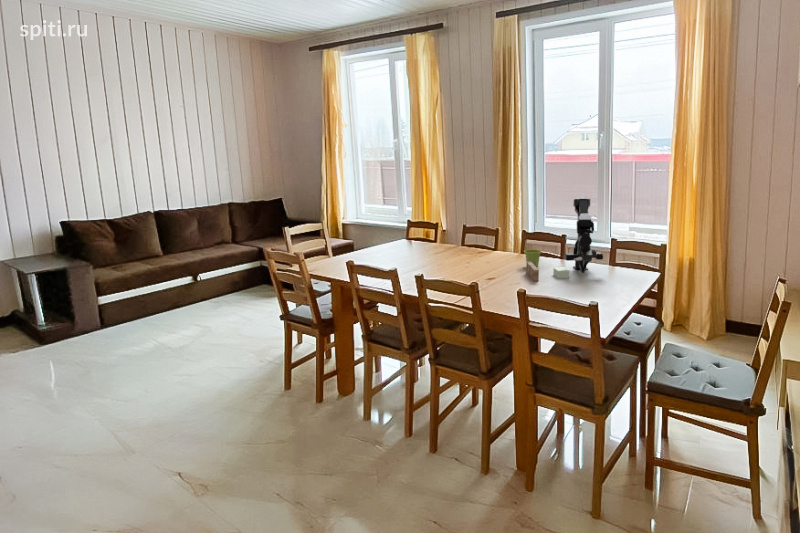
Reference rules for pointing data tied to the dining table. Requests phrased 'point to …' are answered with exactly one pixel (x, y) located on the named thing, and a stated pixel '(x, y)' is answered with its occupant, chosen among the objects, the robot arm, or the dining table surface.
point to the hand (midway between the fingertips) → (582, 272)
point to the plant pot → (532, 256)
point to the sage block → (561, 272)
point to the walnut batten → (532, 271)
